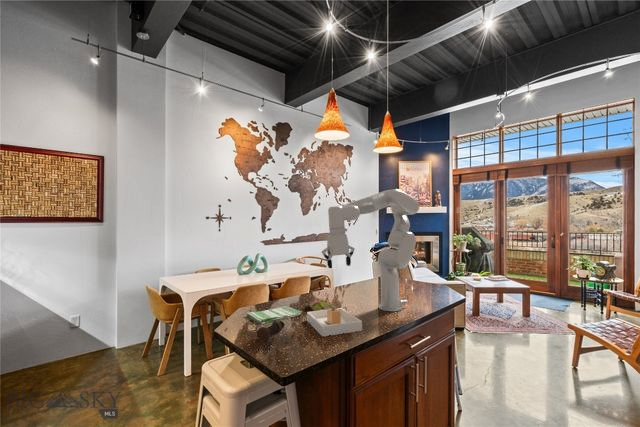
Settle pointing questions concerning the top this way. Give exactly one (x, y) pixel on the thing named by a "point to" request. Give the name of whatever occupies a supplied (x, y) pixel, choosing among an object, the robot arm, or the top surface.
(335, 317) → the tan rectangular block
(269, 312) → the dish towel
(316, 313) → the tray
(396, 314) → the top surface
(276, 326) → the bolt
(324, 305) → the green elongated lump
